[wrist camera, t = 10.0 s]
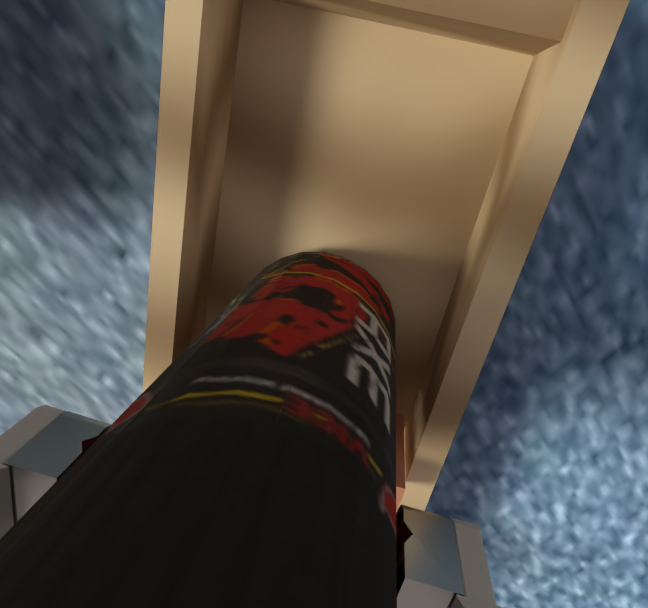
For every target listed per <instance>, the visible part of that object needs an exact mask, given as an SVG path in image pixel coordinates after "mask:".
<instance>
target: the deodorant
mask: <svg viewBox="0 0 648 608" xmlns="http://www.w3.org/2000/svg"><path fill="white" fill-rule="evenodd" d="M0 608H397V540H396V369H395V317H394V313H393V310H392V306H391V303H390V300H389V298H388V296H387V295H386V293H385V292H384V290H383V288H382V287H381V285H380V283H379V282H378V281H377V280H376V279H375V278H374V277H373V276H372V275H371V274H369V273H368V272H367V271H366V270H365V269H364V268H363V267H361V266H359V265H358V264H356V263H354V262H352V261H350V260H348V259H347V258H345V257H342V256H338V255H334V254H330V253H326V252H300V253H296V254H293V255H289V256H286V257H282V258H280V259H279V260H277V261H275V262H274V263H272V264H270V265H269V266H267V267H265V268H264V269H263V270H262V271H261V272H260V273H259V274H258V275H257V276H256V277H255V278H254V279H253V280H252V281H251V282H250V283H249V284H248V285H247V286H246V287H245V288H244V289H243V291H242V292H241V293H240V294H239V295H238V296H237V297H236V298H235V299H234V300H233V301H232V302H231V303H230V304H229V305H228V306H227V307H226V308H225V309H224V310H223V311H222V312H221V313H220V314H219V315H218V316H217V317H216V318H215V319H214V320H213V321H212V322H211V323H210V324H209V325H208V326H207V327H206V328H205V330H204V331H203V332H202V333H201V334H200V335H199V336H198V337H197V338H196V339H195V340H194V341H193V342H192V343H191V344H190V345H189V346H188V347H187V348H186V349H185V350H184V351H183V352H182V353H181V354H180V355H179V356H178V357H177V358H176V359H175V360H174V361H173V362H172V363H171V364H170V365H169V366H168V367H167V368H166V370H165V371H164V372H163V373H162V374H161V375H160V376H159V377H158V378H157V379H156V380H155V381H154V382H153V383H152V384H151V385H150V386H149V387H148V388H147V389H146V390H145V391H144V392H143V393H142V394H141V395H140V396H139V397H138V398H137V399H136V400H135V401H134V402H133V403H132V404H131V405H130V406H129V407H128V409H127V410H126V411H125V412H124V413H123V414H122V415H121V416H120V417H119V418H118V419H117V420H116V421H115V422H114V423H113V424H112V425H111V426H110V427H109V428H108V429H107V430H106V431H105V432H104V433H103V434H102V435H101V436H100V437H99V438H98V439H97V440H96V441H95V442H94V443H93V444H92V445H91V446H90V447H89V449H88V450H87V451H86V452H85V453H84V454H83V455H82V456H81V457H80V458H79V459H78V460H77V461H76V462H75V463H74V464H73V465H72V466H71V467H70V468H69V469H68V470H67V471H66V472H65V473H64V474H63V475H62V476H61V477H60V478H59V479H58V480H57V481H56V482H55V483H54V484H53V485H52V486H51V488H50V489H49V490H48V491H47V492H46V493H45V494H44V495H43V496H42V497H41V498H40V499H39V500H38V501H37V502H36V503H35V504H34V505H33V506H32V507H31V508H30V509H29V510H28V511H27V512H26V513H25V514H24V515H23V516H22V517H21V518H20V519H19V520H18V521H17V522H16V523H15V524H14V525H13V526H12V528H11V529H10V530H9V531H8V532H7V533H6V534H5V535H4V536H3V537H2V538H1V539H0Z"/></svg>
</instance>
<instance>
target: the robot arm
mask: <svg viewBox="0 0 648 608" xmlns="http://www.w3.org/2000/svg"><path fill="white" fill-rule="evenodd" d="M110 426H111V424H108V423H105V422H101V421H98V420H95V419H92V418H88V417H85V416H82V415H78V414H75V413H72V412H69V411H68V412H67V411H63V410H60V409H57V408H54V407H50V406H47V405H44V406H41V407H37V408H36V409H34V410H33V411H32V412H31V413H29V414H28V415H27V416H25V417H24V418H23V419H22V420H20V421H19V422H18V423H16V424H15V425H14V426H13V427H11V428H10V429H9V430H7V431H6V432H5V433H4V434H2V435H1V436H0V539H1V538H2V537H3V536H4V535H5V534H6V533H7V532H8V531H9V530H10V529H11V528H12V526H13V525H14V524H15V523H16V522H17V521H18V520H19V519H20V518H21V517H22V516H23V515H24V514H25V513H26V512H27V511H28V510H29V509H30V508H31V507H32V506H33V505H34V504H35V503H36V502H37V501H38V500H39V499H40V498H41V497H42V496H43V495H44V494H45V493H46V492H47V491H48V490H49V489H50V488H51V486H52V485H53V484H54V483H55V482H56V481H57V480H58V479H59V478H60V477H61V476H62V475H63V474H64V473H65V472H66V471H67V470H68V469H69V468H70V467H71V466H72V465H73V464H74V463H75V462H76V461H77V460H78V459H79V458H80V457H81V456H82V455H83V454H84V453H85V452H86V451H87V450H88V449H89V447H90V446H91V445H92V444H93V443H94V442H95V441H96V440H97V439H98V438H99V437H100V436H101V435H102V434H103V433H104V432H105V431H106V430H107V429H108V428H109V427H110ZM396 540H397V608H502V607H499V606H496V602H495V597H494V592H493V588H492V583H491V578H490V574H489V569H488V564H487V559H486V555H485V550H484V545H483V541H482V536H481V531H480V528H479V527H478V526H477V524H473V523H470V522H466V521H462V520H458V519H454V518H449V517H446V516H443V515H439V514H435V513H431V512H428V511H424V510H420V509H416V508H413V507H409V506H405V505H400V507H399V508H398V510H397V513H396Z"/></svg>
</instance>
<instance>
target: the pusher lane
mask: <svg viewBox="0 0 648 608" xmlns="http://www.w3.org/2000/svg"><path fill="white" fill-rule="evenodd" d="M629 1H630V0H166V2H165V19H164V36H163V53H162V70H161V87H160V104H159V121H158V138H157V155H156V172H155V189H154V206H153V223H152V240H151V257H150V274H149V291H148V308H147V325H146V342H145V359H144V376H143V392H144V391H145V390H146V389H147V388H148V387H149V386H150V385H151V384H152V383H153V382H154V381H155V380H156V379H157V378H158V377H159V376H160V375H161V374H162V373H163V372H164V371H165V370H166V368H167V367H168V366H169V365H170V364H171V363H172V362H173V361H174V360H175V359H176V358H177V357H178V356H179V355H180V354H181V353H182V352H183V351H184V350H185V349H186V348H187V347H188V346H189V345H190V344H191V343H192V342H193V341H194V340H195V339H196V338H197V337H198V336H199V335H200V334H201V333H202V332H203V331H204V330H205V328H206V327H207V326H208V325H209V324H210V323H211V322H212V321H213V320H214V319H215V318H216V317H217V316H218V315H219V314H220V313H221V312H222V311H223V310H224V309H225V308H226V307H227V306H228V305H229V304H230V303H231V302H232V301H233V300H234V299H235V298H236V297H237V296H238V295H239V294H240V293H241V292H242V291H243V289H244V288H245V287H246V286H247V285H248V284H249V283H250V282H251V281H252V280H253V279H254V278H255V277H256V276H257V275H258V274H259V273H260V272H261V271H262V270H263V269H264V268H265V267H267V266H269V265H270V264H272V263H274V262H275V261H277V260H279V259H280V258H282V257H286V256H289V255H293V254H296V253H300V252H326V253H330V254H334V255H338V256H342V257H345V258H347V259H348V260H350V261H352V262H354V263H356V264H358V265H359V266H361V267H363V268H364V269H365V270H366V271H367V272H368V273H369V274H371V275H372V276H373V277H374V278H375V279H376V280H377V281H378V282H379V283H380V285H381V287H382V288H383V290H384V292H385V293H386V295H387V296H388V298H389V300H390V303H391V306H392V310H393V313H394V317H395V369H396V414H400V415H404V450H405V492H404V494H403V497H402V500H401V502H400V505H405V506H409V507H413V508H416V509H420V510H424V511H425V508H426V506H427V503H428V501H429V498H430V496H431V494H432V491H433V489H434V486H435V484H436V481H437V479H438V476H439V474H440V471H441V469H442V466H443V464H444V461H445V459H446V456H447V454H448V451H449V449H450V446H451V444H452V441H453V439H454V436H455V434H456V431H457V429H458V426H459V424H460V421H461V419H462V416H463V414H464V412H465V409H466V407H467V404H468V402H469V399H470V397H471V394H472V392H473V389H474V387H475V384H476V382H477V379H478V377H479V374H480V372H481V369H482V367H483V364H484V362H485V359H486V357H487V354H488V352H489V349H490V347H491V344H492V342H493V339H494V337H495V334H496V332H497V329H498V327H499V325H500V322H501V320H502V317H503V315H504V312H505V310H506V307H507V305H508V302H509V300H510V297H511V295H512V292H513V290H514V287H515V285H516V282H517V280H518V277H519V275H520V272H521V270H522V267H523V265H524V262H525V260H526V257H527V255H528V252H529V250H530V247H531V245H532V243H533V240H534V238H535V235H536V233H537V230H538V228H539V225H540V223H541V220H542V218H543V215H544V213H545V210H546V208H547V205H548V203H549V200H550V198H551V195H552V193H553V190H554V188H555V185H556V183H557V180H558V178H559V175H560V173H561V170H562V168H563V165H564V163H565V161H566V158H567V156H568V153H569V151H570V148H571V146H572V143H573V141H574V138H575V136H576V133H577V131H578V128H579V126H580V123H581V121H582V118H583V116H584V113H585V111H586V108H587V106H588V103H589V101H590V98H591V96H592V93H593V91H594V88H595V86H596V83H597V81H598V78H599V76H600V74H601V71H602V69H603V66H604V64H605V61H606V59H607V56H608V54H609V51H610V49H611V46H612V44H613V41H614V39H615V36H616V34H617V31H618V29H619V26H620V24H621V21H622V19H623V16H624V14H625V11H626V9H627V6H628V4H629ZM400 505H399V507H400ZM396 513H397V511H396Z"/></svg>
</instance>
